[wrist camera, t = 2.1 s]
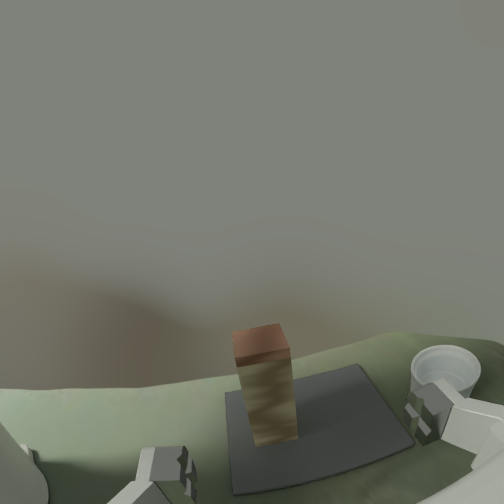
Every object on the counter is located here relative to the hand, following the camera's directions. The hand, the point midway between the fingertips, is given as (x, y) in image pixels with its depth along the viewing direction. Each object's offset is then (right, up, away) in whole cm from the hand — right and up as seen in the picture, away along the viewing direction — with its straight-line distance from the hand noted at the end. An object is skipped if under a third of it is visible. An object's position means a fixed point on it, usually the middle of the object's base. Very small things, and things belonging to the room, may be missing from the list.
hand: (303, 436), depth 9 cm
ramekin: (+21, -11, +19) cm, 30 cm away
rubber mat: (+4, -12, +20) cm, 24 cm away
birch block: (+1, -13, +20) cm, 24 cm away
